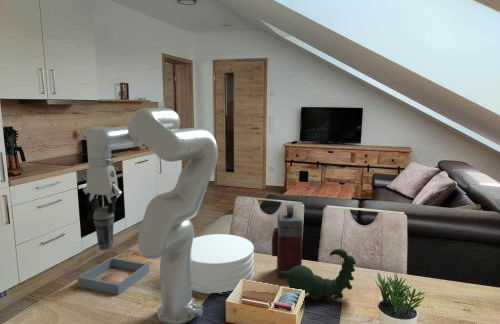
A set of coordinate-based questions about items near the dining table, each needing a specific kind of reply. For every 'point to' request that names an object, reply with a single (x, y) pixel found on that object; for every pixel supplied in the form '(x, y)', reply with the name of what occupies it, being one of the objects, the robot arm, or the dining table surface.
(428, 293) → the dining table surface
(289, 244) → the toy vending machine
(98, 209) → the beverage cup
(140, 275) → the grey square frame
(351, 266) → the toy figurine
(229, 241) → the plate stack
